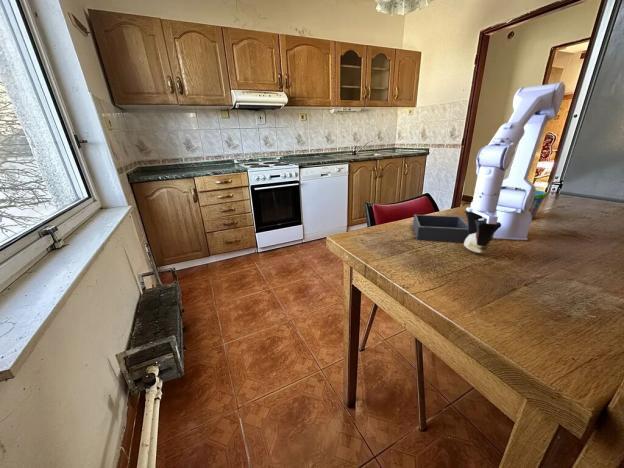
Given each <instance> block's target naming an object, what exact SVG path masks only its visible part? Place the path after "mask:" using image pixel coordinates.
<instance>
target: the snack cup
mask: <svg viewBox="0 0 624 468" xmlns="http://www.w3.org/2000/svg"><path fill="white" fill-rule="evenodd" d="M515 189H516V190H524V191H526V190H525V189H522V188H515ZM546 197H547V192H545V191H542V190H538V189H536V191H535V194H534V201H533V203H532V206H531V207H530V209H529V210H527V211H530V213H531V215H532V219H534V218H535V217H536V215H537V213H538V211H539V209H540V207H541V205H542V203H543V201H544V199H545V198H546Z"/></svg>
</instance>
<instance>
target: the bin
mask: <svg viewBox="0 0 624 468" xmlns="http://www.w3.org/2000/svg"><path fill="white" fill-rule="evenodd" d="M412 220H413V221H412V228H413V231H414V235H415V238H416V240H417V241H426V242H427V241H428V242H430V241H431V242H447V243H459V244H464V241H465V239H466V238H467V236H468V235H469V233H468V222H466V220H465V219H463V217H462V216H460V215H455V216H454V215H436V214H435V215H434V214H433V215H432V214H413V219H412Z"/></svg>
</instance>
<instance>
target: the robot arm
mask: <svg viewBox="0 0 624 468" xmlns="http://www.w3.org/2000/svg"><path fill="white" fill-rule="evenodd" d="M565 92H566V84H565V82H563V81H560V82H556V83H549V84H541V85H532V86H526V87H525V86H521V87H520V88H519V89H518V90H517V91H516V92H515V94H514V96H513V101H512V108H513V112H512V114H511V116H510V118H509V120H508V122H506V123H503V124H502V125H500V127H499V128H498V130H497V131H496V133H495V134H494V136H493V137H492V139H491V140H490V142H489V143H488V145H487V144H486V145H485V146H483V147H481V148H480V149H479V151H478V153H477V155H476V160H475V161H476V162H475V164H476V171H475V175H477V178H476V183H475V188H474V193H473V197H472V198H473V199H472V201H471V202H470V207H469V206H468V207H466V208H465V211H464V213H465V216H466V221H467V224H468V233H469V235H470V234H474V233H476V232H477V245H478V246H486V245H487V244H488V242H489V240H490V239H491V237H492V235H493V234H494V236H493V239H494V240H495V239H496V240H510V241H511V240H513V241H528V240H529V239H528V235H529V233H530V232H529V231H530V228H531V224H532V220H533V218H532V215H531V213H530V211H527V210H529V209H530V207H531V206H532V203H533V201H534V194H535V191H536V190H537V188H536V186H535V184H534V183H532V181H530V180H529V177H530V172H531V170H532V167H533V163H534V161H535V157H536V155H537V151H538V148H539V145H540V143H541V139H542V136H543V133H544V131H545V128H546V126H547V124H548V122H549V121H550V120H554V119H555V118H557V117H558V116H557V115H558V114H559V113H560V109H561V106H562V104H563V100H564V99H565ZM516 148H517V149H516ZM510 166H511V168H510ZM509 168H510V171H509V174H508V177H507V178H505V175H506V170H508V169H509ZM504 178H505V179H504ZM516 189H525V190H526V191H524V190H516ZM482 218H484V221H483V220H478V219H482Z"/></svg>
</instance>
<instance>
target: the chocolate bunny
mask: <svg viewBox="0 0 624 468" xmlns="http://www.w3.org/2000/svg"><path fill="white" fill-rule="evenodd" d="M478 220H483V221H484V218H482V219H478ZM493 236H494V234H493V235H492V237H491V239H490V240H489V242H488V244H487V245H486V246H478V245H477V232H476V233H474V234H470V235H468V236H467V238H466V239H465V241H464V243H463V246H464V247H465V248H466V249H468V250H469V251H471V252H474V253H477V254H482V255H484V254H486V253H488V252H487V249H488V248H490V245H491V242H492V241H493V239H494V238H493Z"/></svg>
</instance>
